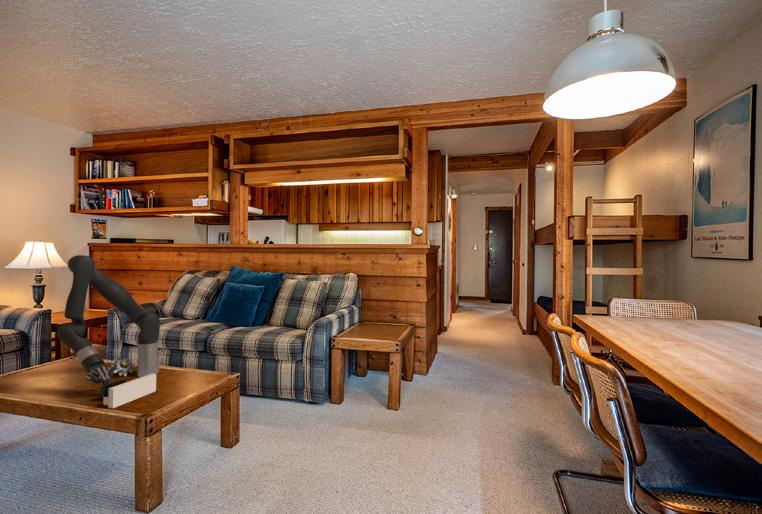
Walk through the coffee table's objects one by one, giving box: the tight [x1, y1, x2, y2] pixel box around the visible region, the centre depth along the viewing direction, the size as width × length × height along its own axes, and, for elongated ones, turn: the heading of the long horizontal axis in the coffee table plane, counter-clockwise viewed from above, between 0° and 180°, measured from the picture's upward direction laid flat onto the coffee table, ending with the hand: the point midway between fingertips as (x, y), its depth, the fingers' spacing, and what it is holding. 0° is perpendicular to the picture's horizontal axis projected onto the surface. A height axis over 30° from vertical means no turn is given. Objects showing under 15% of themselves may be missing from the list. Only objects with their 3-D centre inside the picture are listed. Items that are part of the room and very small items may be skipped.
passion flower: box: [108, 356, 136, 377], centre depth 205 cm, size 11×11×12 cm
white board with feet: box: [102, 374, 157, 409], centre depth 171 cm, size 22×7×8 cm, turn 166°
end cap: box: [99, 378, 129, 400], centre depth 172 cm, size 10×7×7 cm
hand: (110, 387), depth 174 cm, fingers closed
